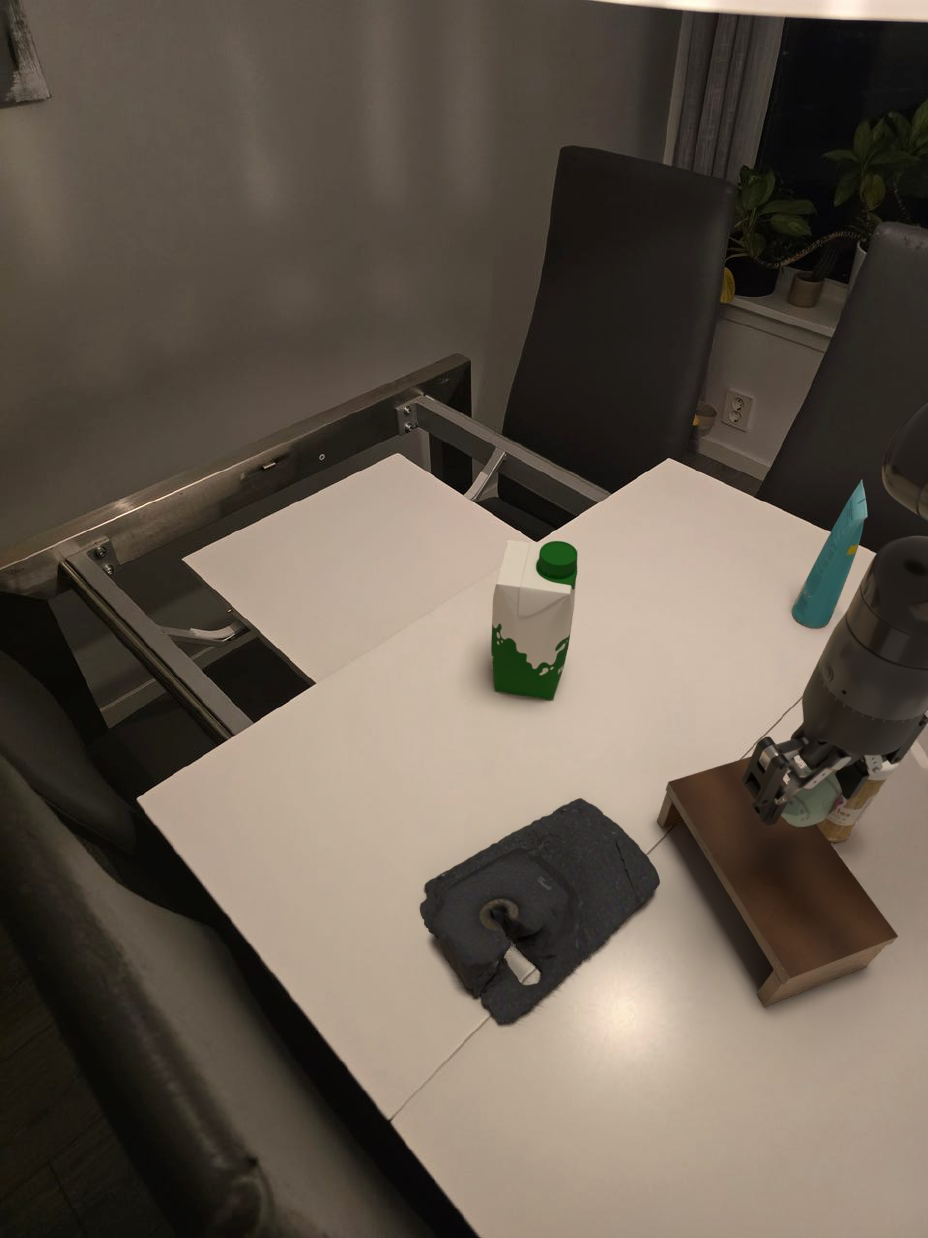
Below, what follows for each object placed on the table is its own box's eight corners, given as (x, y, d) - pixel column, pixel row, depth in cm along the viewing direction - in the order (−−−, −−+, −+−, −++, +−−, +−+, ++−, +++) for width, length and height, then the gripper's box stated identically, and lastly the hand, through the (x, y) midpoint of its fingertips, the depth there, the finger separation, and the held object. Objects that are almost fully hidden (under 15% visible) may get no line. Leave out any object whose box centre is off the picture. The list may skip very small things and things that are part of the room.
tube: (833, 637, 101) (890, 518, 88) (794, 632, 102) (845, 514, 88) (825, 598, 106) (878, 481, 93) (788, 594, 107) (835, 476, 93)
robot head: (796, 779, 72) (820, 734, 67) (839, 805, 70) (867, 761, 65) (753, 836, 67) (775, 792, 63) (797, 866, 65) (824, 823, 61)
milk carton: (559, 708, 93) (576, 583, 79) (484, 695, 94) (488, 571, 80) (567, 654, 99) (585, 530, 85) (497, 643, 100) (503, 519, 86)
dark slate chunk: (681, 907, 76) (691, 884, 72) (492, 1039, 67) (493, 1020, 64) (583, 791, 85) (588, 766, 81) (405, 895, 76) (402, 872, 73)
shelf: (745, 790, 85) (763, 752, 80) (868, 968, 72) (898, 936, 67) (655, 818, 82) (668, 781, 77) (765, 1009, 69) (788, 979, 64)
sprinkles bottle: (797, 823, 82) (840, 747, 73) (819, 797, 84) (864, 720, 75) (837, 852, 80) (888, 778, 70) (859, 825, 82) (911, 749, 72)
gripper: (823, 743, 50) (755, 867, 62) (1000, 689, 54) (904, 816, 65) (757, 661, 55) (705, 789, 67) (922, 615, 59) (846, 745, 70)
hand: (804, 802), depth 66 cm, fingers closed on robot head, 7 cm apart
